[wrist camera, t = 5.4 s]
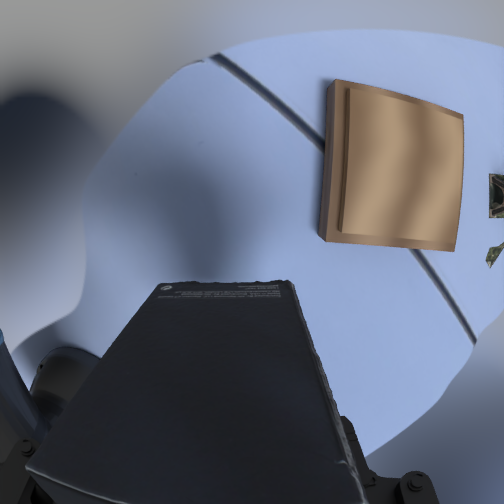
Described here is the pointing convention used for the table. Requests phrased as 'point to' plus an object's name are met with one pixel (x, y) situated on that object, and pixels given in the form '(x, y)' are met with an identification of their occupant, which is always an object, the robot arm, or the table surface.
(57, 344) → the table surface
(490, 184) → the eiffel tower figurine
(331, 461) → the small box
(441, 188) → the plinth
